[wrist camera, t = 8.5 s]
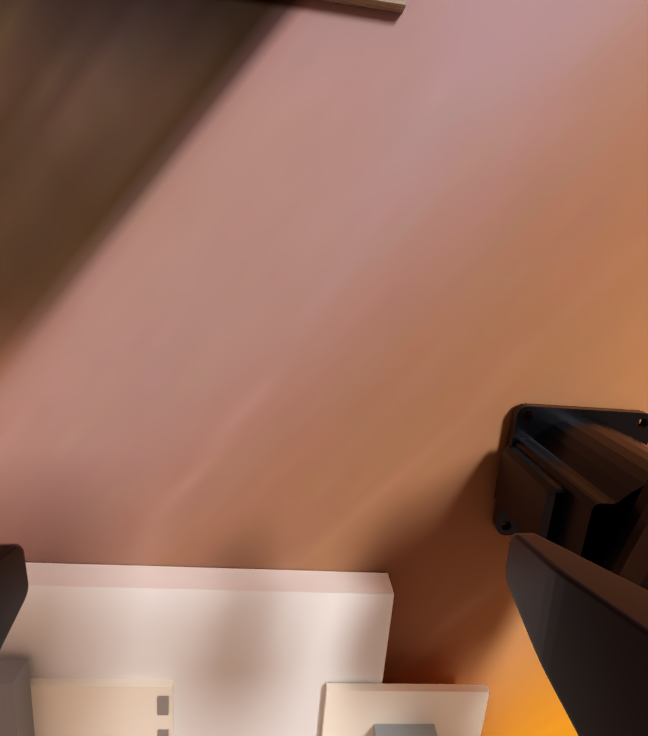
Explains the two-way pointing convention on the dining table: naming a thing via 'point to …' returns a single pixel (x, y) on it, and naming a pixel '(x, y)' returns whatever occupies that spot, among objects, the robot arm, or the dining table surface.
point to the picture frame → (376, 4)
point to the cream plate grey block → (404, 709)
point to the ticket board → (187, 649)
